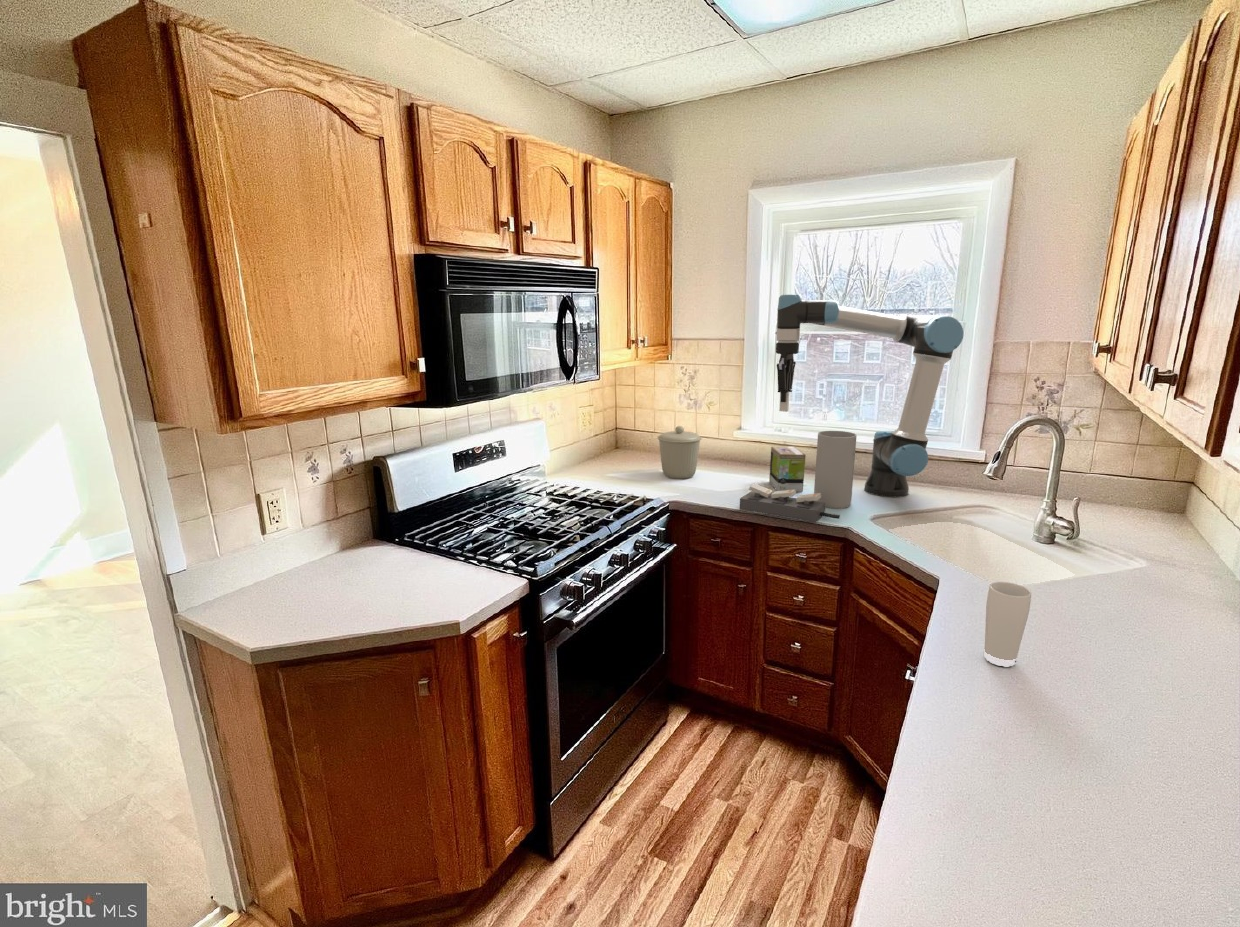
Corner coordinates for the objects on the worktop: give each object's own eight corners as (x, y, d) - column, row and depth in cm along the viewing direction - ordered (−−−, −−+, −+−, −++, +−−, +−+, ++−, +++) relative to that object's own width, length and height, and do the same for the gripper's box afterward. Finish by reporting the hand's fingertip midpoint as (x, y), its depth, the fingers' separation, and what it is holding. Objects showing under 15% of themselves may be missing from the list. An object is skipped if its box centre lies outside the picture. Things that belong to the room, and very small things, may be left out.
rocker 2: (796, 495, 207) (795, 489, 207) (792, 498, 203) (791, 492, 203) (776, 497, 211) (775, 490, 211) (772, 500, 208) (771, 493, 207)
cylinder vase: (856, 508, 209) (863, 437, 203) (821, 509, 208) (826, 437, 203) (842, 498, 221) (847, 430, 215) (808, 499, 221) (812, 431, 215)
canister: (689, 483, 242) (690, 431, 237) (649, 478, 251) (649, 427, 246) (707, 473, 257) (709, 424, 252) (669, 468, 266) (670, 421, 261)
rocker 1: (771, 496, 212) (773, 490, 211) (766, 499, 209) (768, 493, 208) (753, 488, 215) (754, 483, 215) (748, 491, 212) (750, 485, 211)
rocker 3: (821, 499, 202) (820, 492, 202) (817, 502, 199) (816, 495, 199) (801, 501, 207) (799, 494, 206) (797, 504, 203) (795, 497, 203)
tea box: (804, 492, 229) (806, 453, 226) (777, 492, 230) (779, 454, 226) (793, 481, 244) (795, 445, 240) (768, 481, 244) (770, 445, 241)
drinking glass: (1028, 666, 115) (1040, 593, 111) (1002, 674, 113) (1013, 599, 109) (996, 649, 121) (1006, 579, 118) (970, 655, 119) (980, 584, 115)
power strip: (843, 517, 201) (844, 501, 199) (834, 525, 192) (836, 509, 191) (750, 502, 218) (751, 487, 217) (739, 509, 210) (740, 494, 208)
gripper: (783, 340, 213) (779, 407, 219) (770, 342, 203) (766, 412, 208) (804, 341, 209) (800, 409, 215) (792, 342, 199) (788, 414, 204)
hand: (783, 411), depth 212 cm, fingers closed
